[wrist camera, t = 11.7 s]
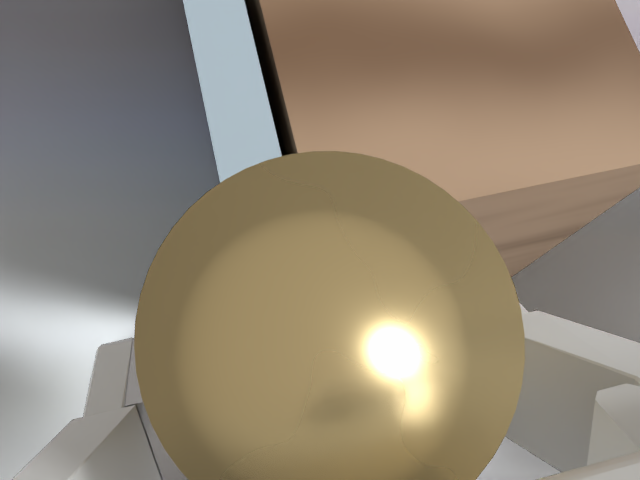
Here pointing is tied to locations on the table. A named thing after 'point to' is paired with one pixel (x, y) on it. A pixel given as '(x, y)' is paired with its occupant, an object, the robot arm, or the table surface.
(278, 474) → the hinge pin
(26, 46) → the table surface
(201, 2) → the cabinet door
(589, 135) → the cabinet
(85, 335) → the table surface
